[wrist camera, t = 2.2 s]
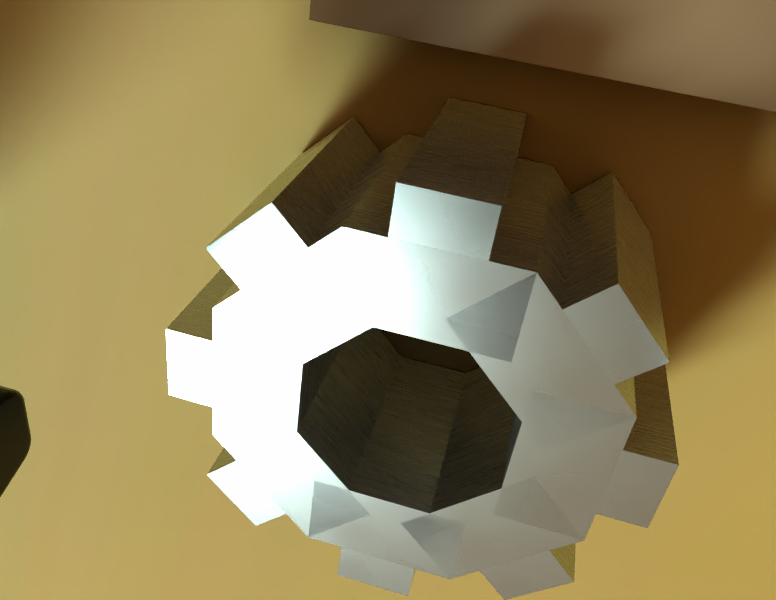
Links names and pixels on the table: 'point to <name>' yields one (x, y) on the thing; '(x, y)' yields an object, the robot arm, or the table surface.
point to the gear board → (597, 38)
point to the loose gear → (429, 382)
